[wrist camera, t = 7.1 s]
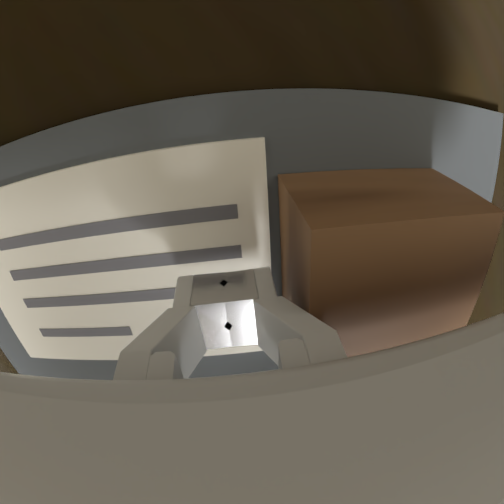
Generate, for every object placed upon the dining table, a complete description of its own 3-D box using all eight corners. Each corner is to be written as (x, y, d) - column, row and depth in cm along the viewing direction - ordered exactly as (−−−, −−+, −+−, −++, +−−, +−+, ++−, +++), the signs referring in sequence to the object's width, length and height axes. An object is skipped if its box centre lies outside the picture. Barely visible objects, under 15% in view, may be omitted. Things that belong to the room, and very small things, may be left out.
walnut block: (408, 295, 13) (451, 357, 10) (282, 317, 13) (303, 396, 9) (432, 168, 10) (504, 212, 7) (277, 174, 10) (311, 229, 6)
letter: (273, 346, 14) (274, 349, 14) (32, 354, 13) (30, 357, 13) (263, 137, 9) (264, 138, 9) (-42, 201, 9) (-45, 204, 8)
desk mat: (419, 385, 18) (421, 388, 18) (60, 418, 17) (59, 421, 17) (498, 112, 9) (503, 113, 9) (-71, 181, 8) (-75, 183, 8)
